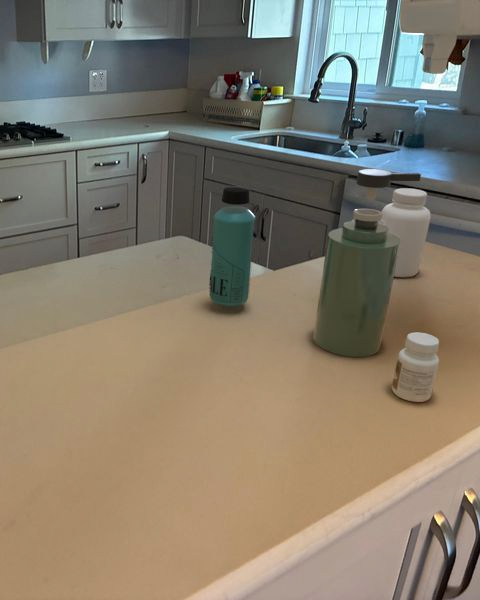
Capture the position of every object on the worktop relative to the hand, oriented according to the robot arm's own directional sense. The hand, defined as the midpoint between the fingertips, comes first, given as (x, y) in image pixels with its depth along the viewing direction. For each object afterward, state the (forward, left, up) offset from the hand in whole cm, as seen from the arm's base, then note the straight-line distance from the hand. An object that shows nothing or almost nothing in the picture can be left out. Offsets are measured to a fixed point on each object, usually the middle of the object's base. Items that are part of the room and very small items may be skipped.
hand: (433, 73), depth 79 cm
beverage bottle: (+23, -5, -37) cm, 43 cm away
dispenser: (+7, +6, -36) cm, 38 cm away
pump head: (+5, +6, -15) cm, 17 cm away
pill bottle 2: (+3, +20, -37) cm, 42 cm away
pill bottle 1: (-9, -24, -37) cm, 45 cm away
